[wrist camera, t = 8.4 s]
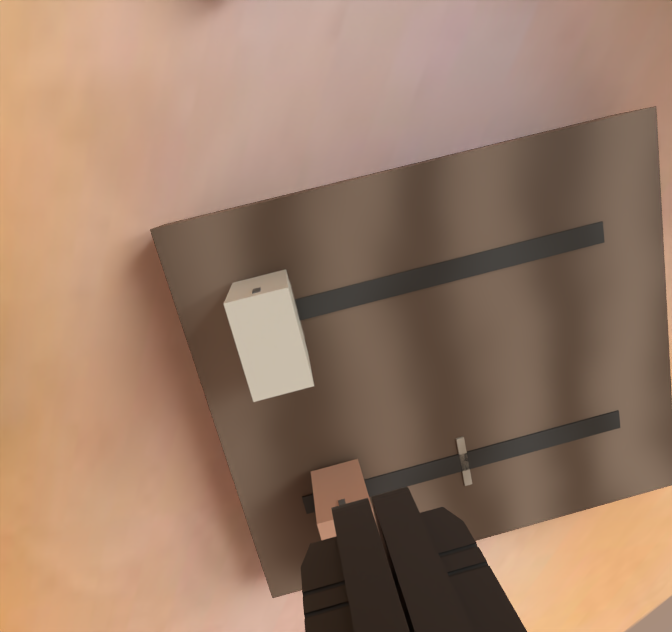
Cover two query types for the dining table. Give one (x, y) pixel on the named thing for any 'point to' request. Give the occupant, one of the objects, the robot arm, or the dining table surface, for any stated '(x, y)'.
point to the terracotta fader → (336, 492)
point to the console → (448, 334)
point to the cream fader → (268, 335)
